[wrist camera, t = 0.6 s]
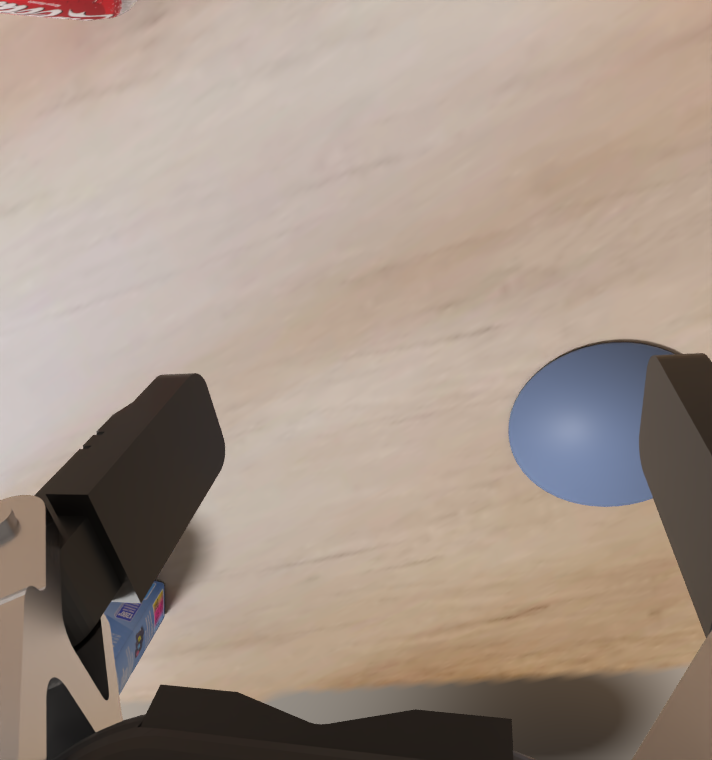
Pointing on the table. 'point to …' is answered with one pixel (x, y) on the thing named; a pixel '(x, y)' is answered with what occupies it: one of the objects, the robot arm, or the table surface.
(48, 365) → the table surface
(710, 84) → the table surface
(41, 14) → the soda can
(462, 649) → the table surface
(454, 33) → the table surface
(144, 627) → the ink cartridge box
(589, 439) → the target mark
